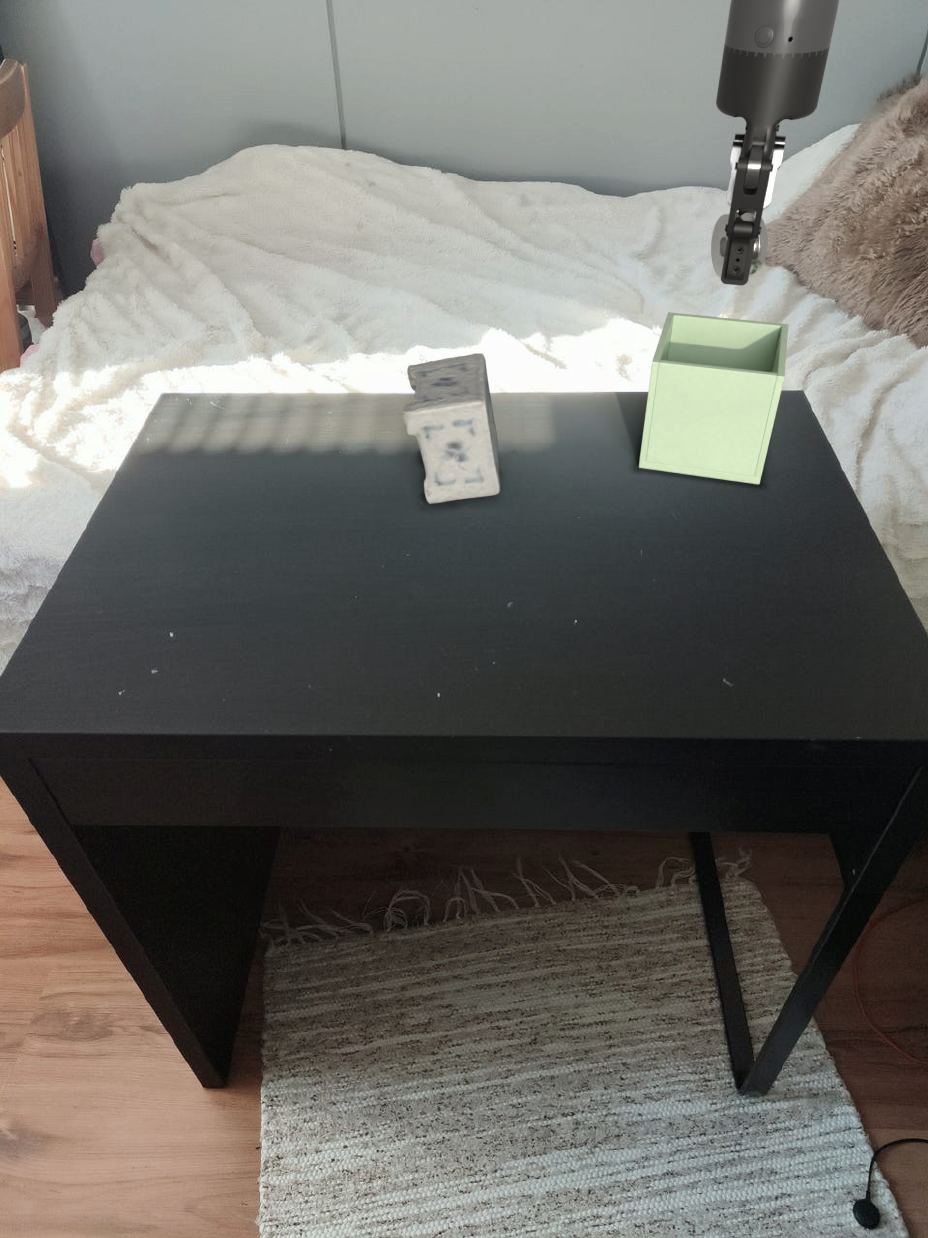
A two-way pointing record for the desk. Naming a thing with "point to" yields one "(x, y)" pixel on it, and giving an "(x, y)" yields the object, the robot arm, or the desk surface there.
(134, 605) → the desk surface
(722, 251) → the metal grooved wheel
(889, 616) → the desk surface
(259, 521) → the desk surface
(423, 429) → the incense holder
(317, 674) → the desk surface
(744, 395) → the waste bin
